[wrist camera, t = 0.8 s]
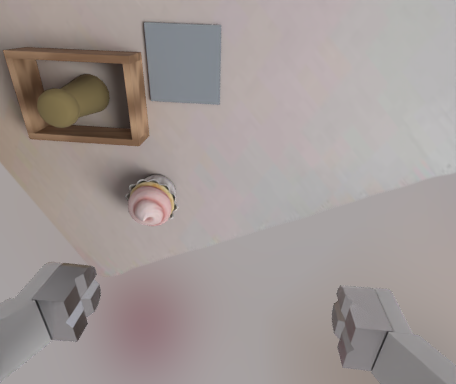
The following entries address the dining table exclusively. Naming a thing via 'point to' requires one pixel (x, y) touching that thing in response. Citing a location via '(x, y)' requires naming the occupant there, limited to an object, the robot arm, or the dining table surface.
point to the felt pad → (184, 62)
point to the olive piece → (73, 101)
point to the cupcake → (152, 200)
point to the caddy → (39, 129)
